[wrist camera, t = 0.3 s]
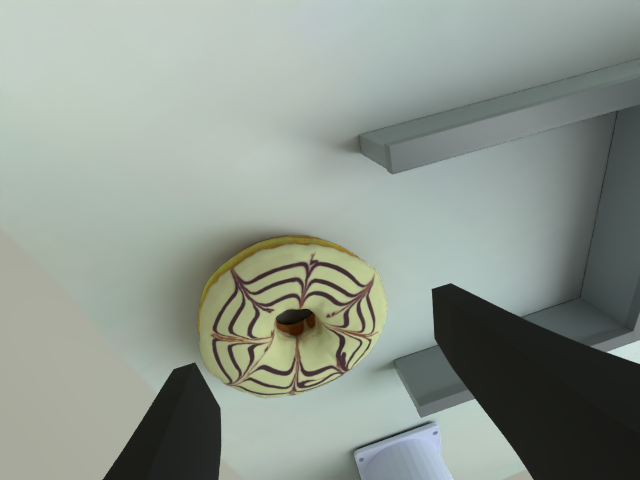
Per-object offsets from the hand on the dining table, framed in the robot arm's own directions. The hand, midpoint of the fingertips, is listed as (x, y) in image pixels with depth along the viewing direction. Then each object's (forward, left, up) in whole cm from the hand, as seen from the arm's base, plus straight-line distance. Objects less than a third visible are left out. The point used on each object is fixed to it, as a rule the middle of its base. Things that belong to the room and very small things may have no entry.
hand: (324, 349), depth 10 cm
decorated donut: (-5, +1, -10) cm, 11 cm away
